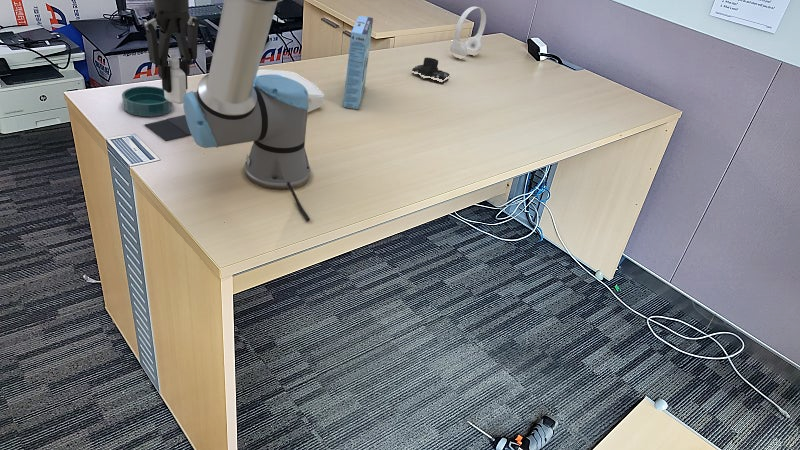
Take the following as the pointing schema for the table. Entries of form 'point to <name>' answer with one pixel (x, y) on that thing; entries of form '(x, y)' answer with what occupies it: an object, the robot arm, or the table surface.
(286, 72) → the document scanner
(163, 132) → the napkin
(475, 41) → the headphones
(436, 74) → the film camera
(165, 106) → the bowl
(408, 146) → the table surface
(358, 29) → the blue cardboard box
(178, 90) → the eye dropper bottle
